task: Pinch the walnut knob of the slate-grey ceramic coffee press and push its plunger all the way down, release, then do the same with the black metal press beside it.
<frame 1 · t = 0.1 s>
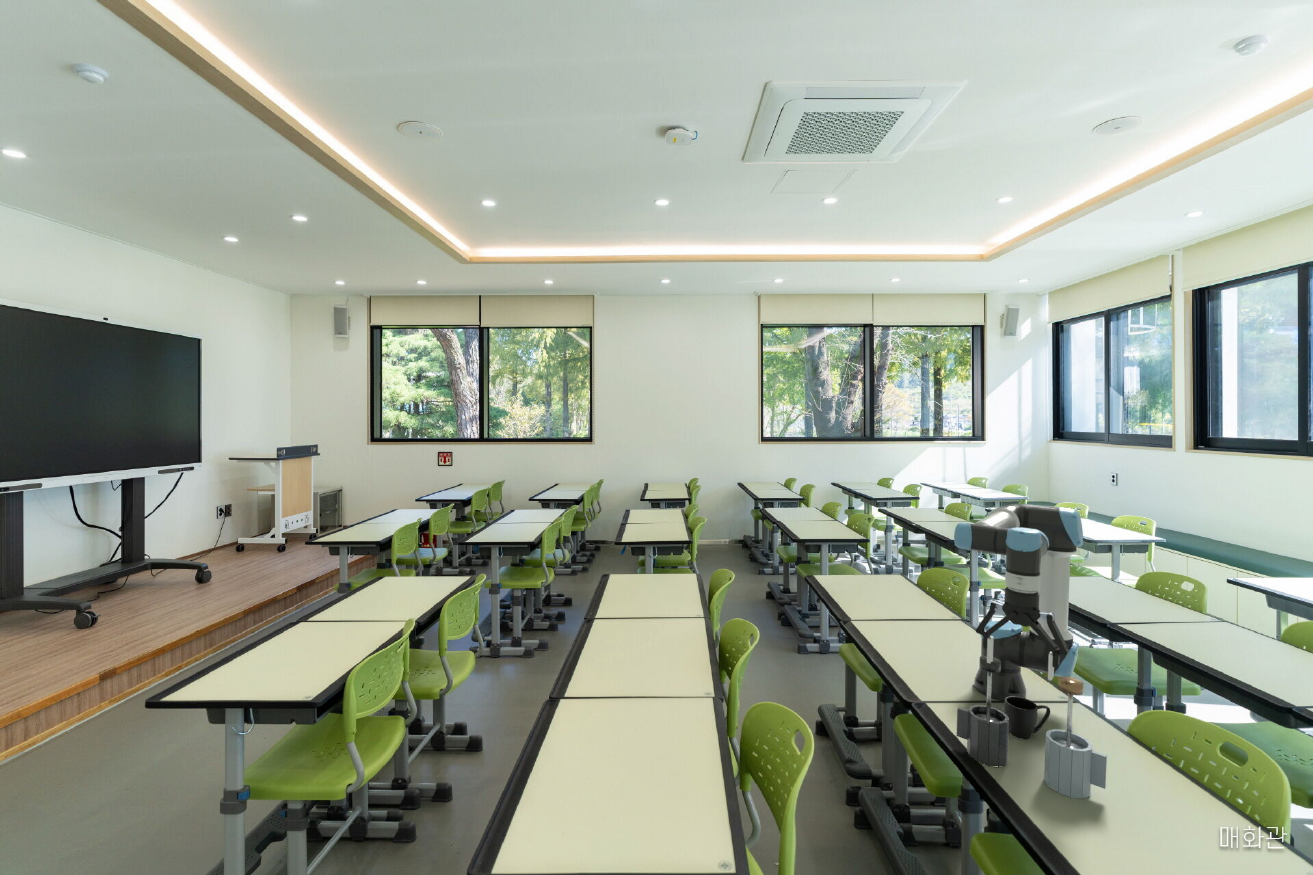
hand: (1019, 669, 147), 28 cm above the table, fingers open, 13 cm apart
mug: (1026, 735, 167), on the table
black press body: (986, 756, 156), on the table
stone press plunger: (1069, 714, 143), point 18 cm above the table, slide at 0.0 cm
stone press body: (1066, 785, 144), on the table
black press plunger: (989, 691, 156), point 18 cm above the table, slide at 0.0 cm
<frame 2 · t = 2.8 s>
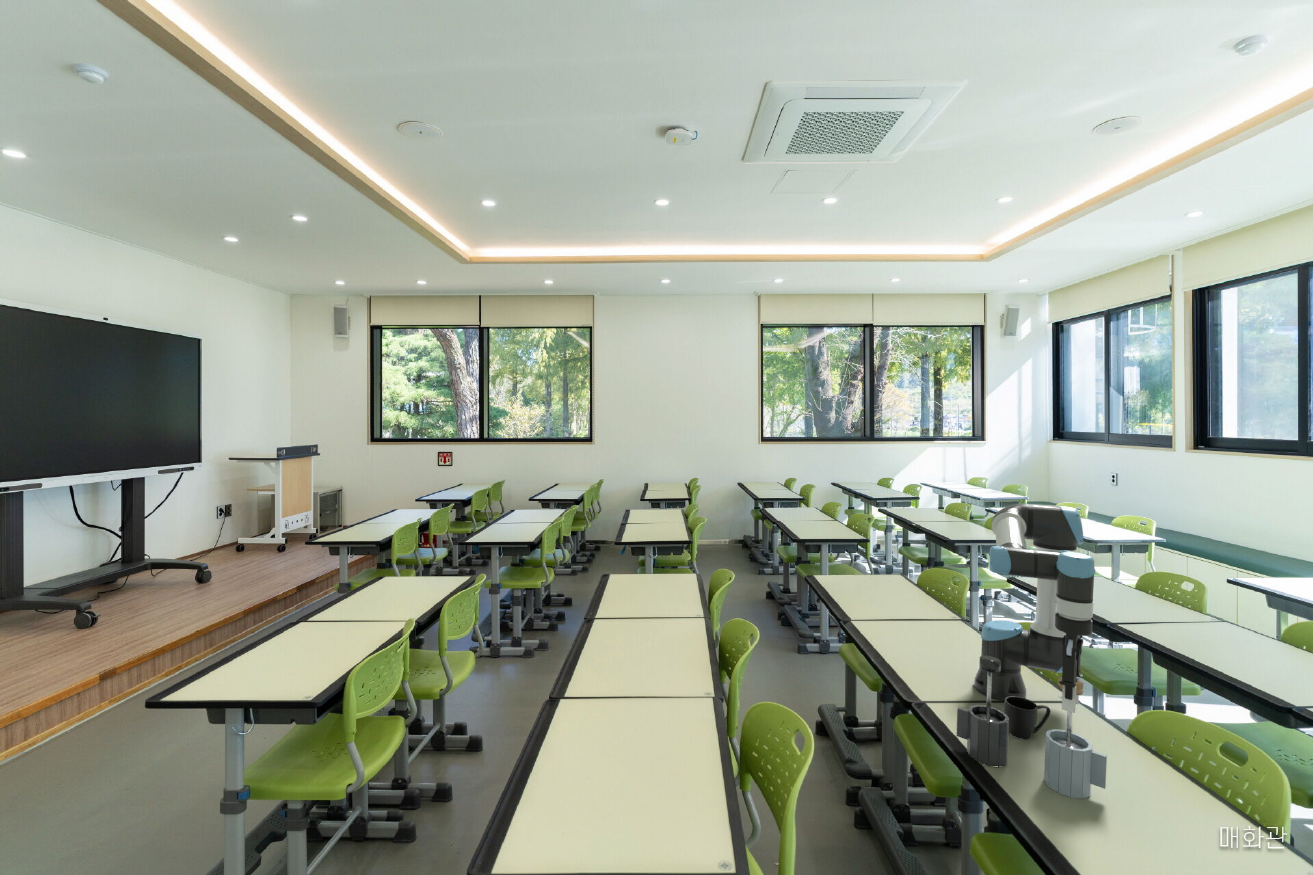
hand: (1070, 705, 143), 21 cm above the table, fingers closed on stone press plunger, 5 cm apart
stone press plunger: (1069, 715, 143), point 18 cm above the table, slide at 0.0 cm, touching gripper
everything else where it was.
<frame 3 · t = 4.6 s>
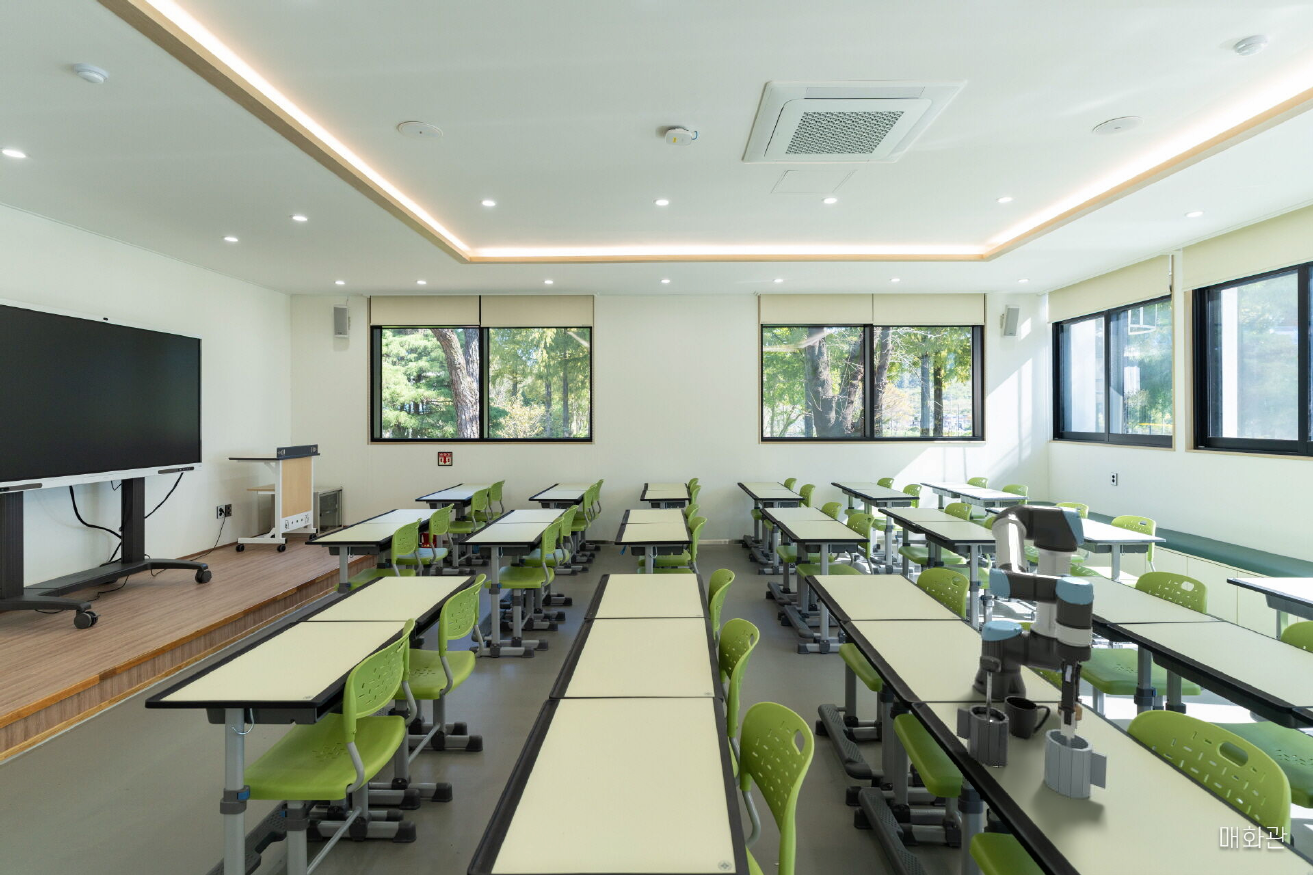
hand: (1069, 730, 144), 14 cm above the table, fingers closed on stone press plunger, 5 cm apart
stone press plunger: (1068, 739, 144), point 12 cm above the table, slide at 6.5 cm, touching gripper
everything else where it was.
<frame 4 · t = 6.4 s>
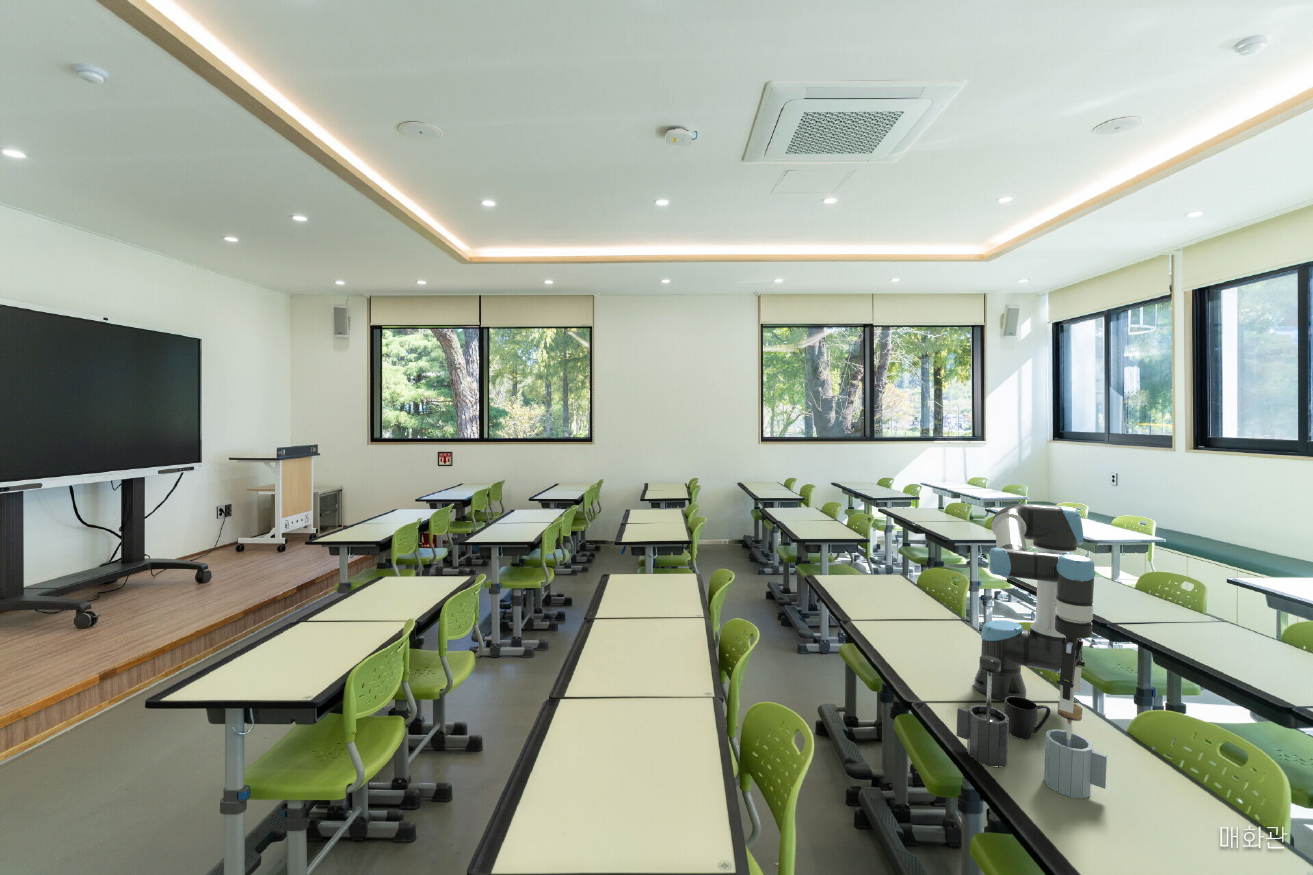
hand: (1070, 700, 144), 22 cm above the table, fingers open, 13 cm apart
stone press plunger: (1068, 740, 144), point 12 cm above the table, slide at 6.5 cm
everything else where it was.
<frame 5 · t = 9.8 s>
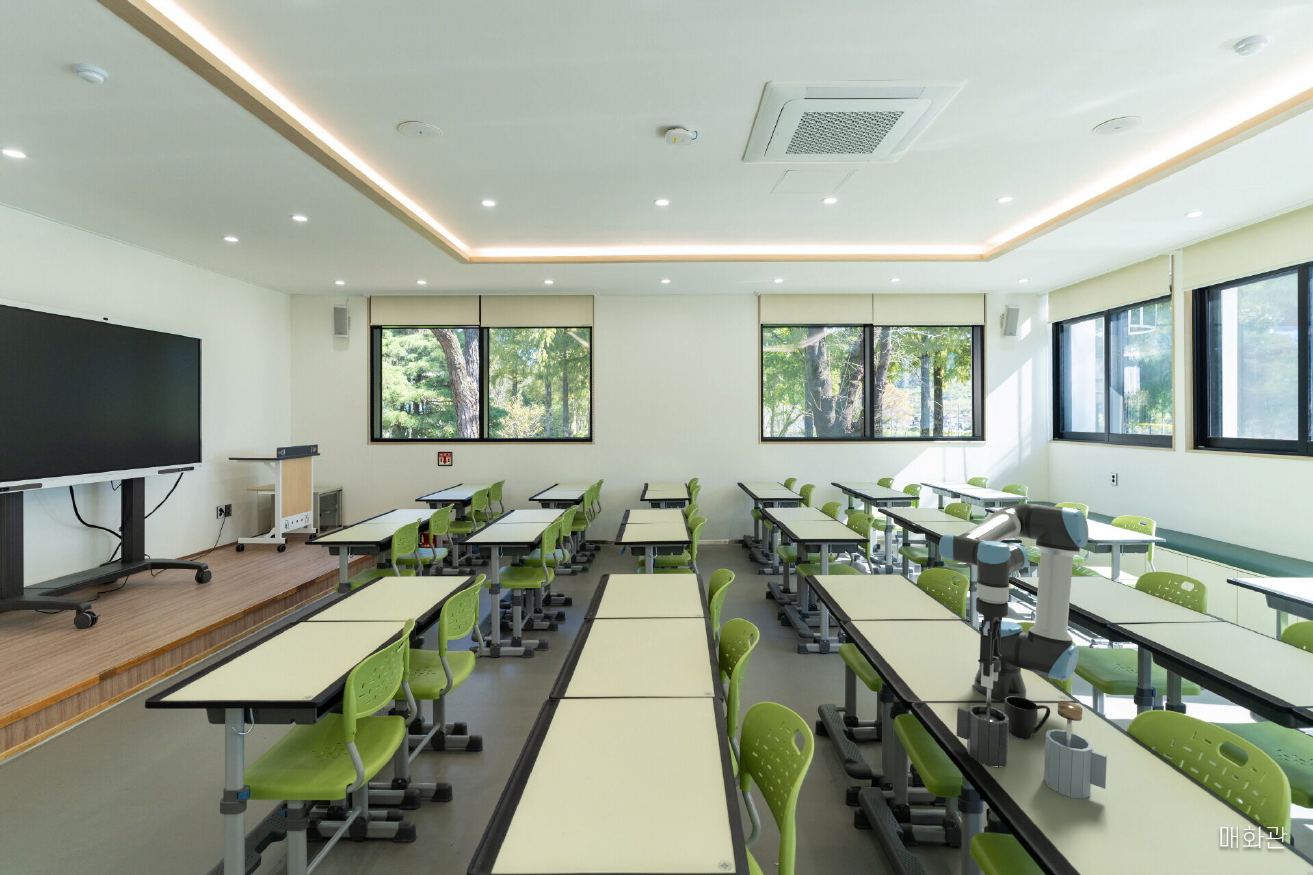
hand: (989, 682, 155), 21 cm above the table, fingers closed on black press plunger, 5 cm apart
black press plunger: (989, 691, 156), point 18 cm above the table, slide at 0.0 cm, touching gripper
everything else where it was.
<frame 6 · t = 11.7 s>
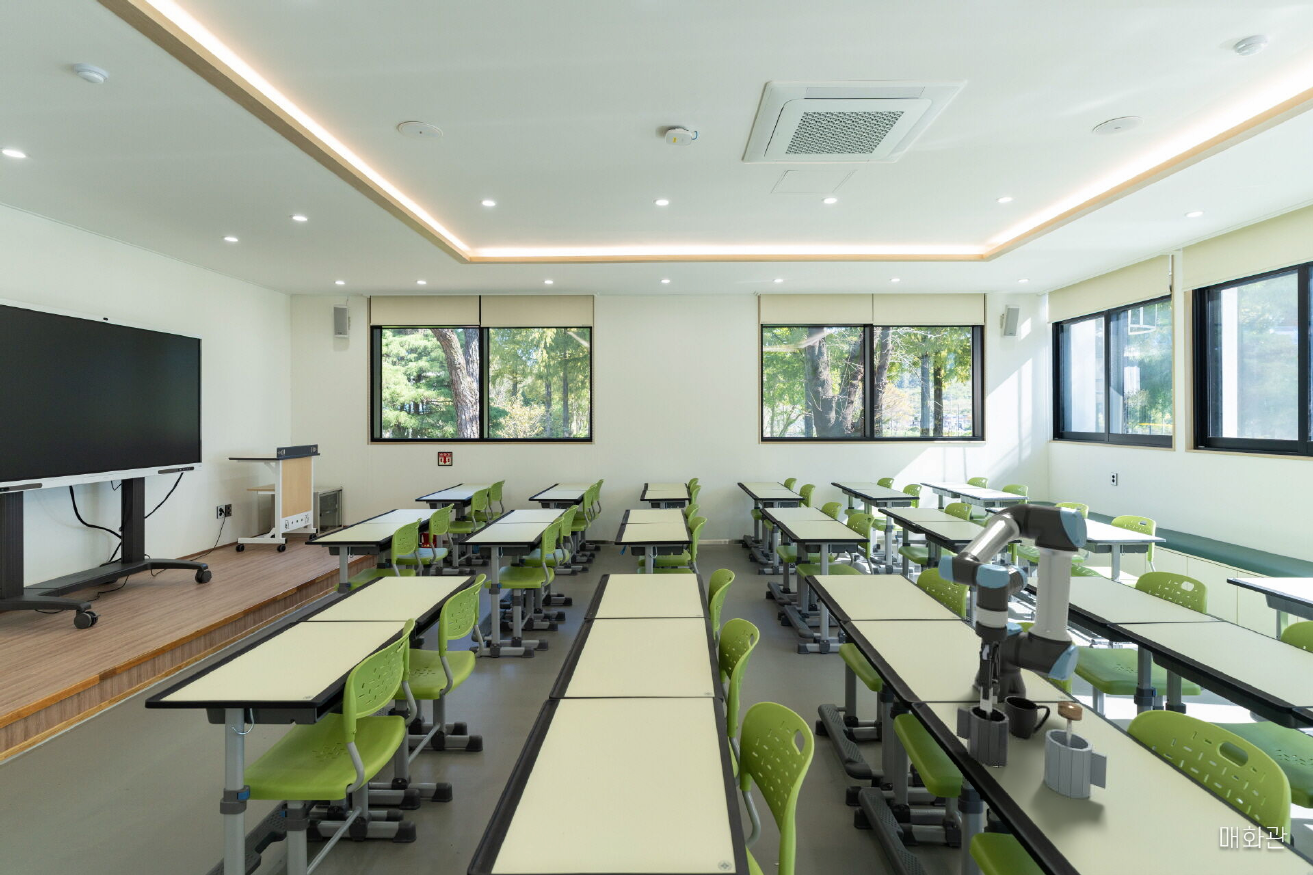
hand: (988, 705, 156), 14 cm above the table, fingers closed on black press plunger, 5 cm apart
black press plunger: (988, 714, 156), point 12 cm above the table, slide at 6.5 cm, touching gripper
everything else where it was.
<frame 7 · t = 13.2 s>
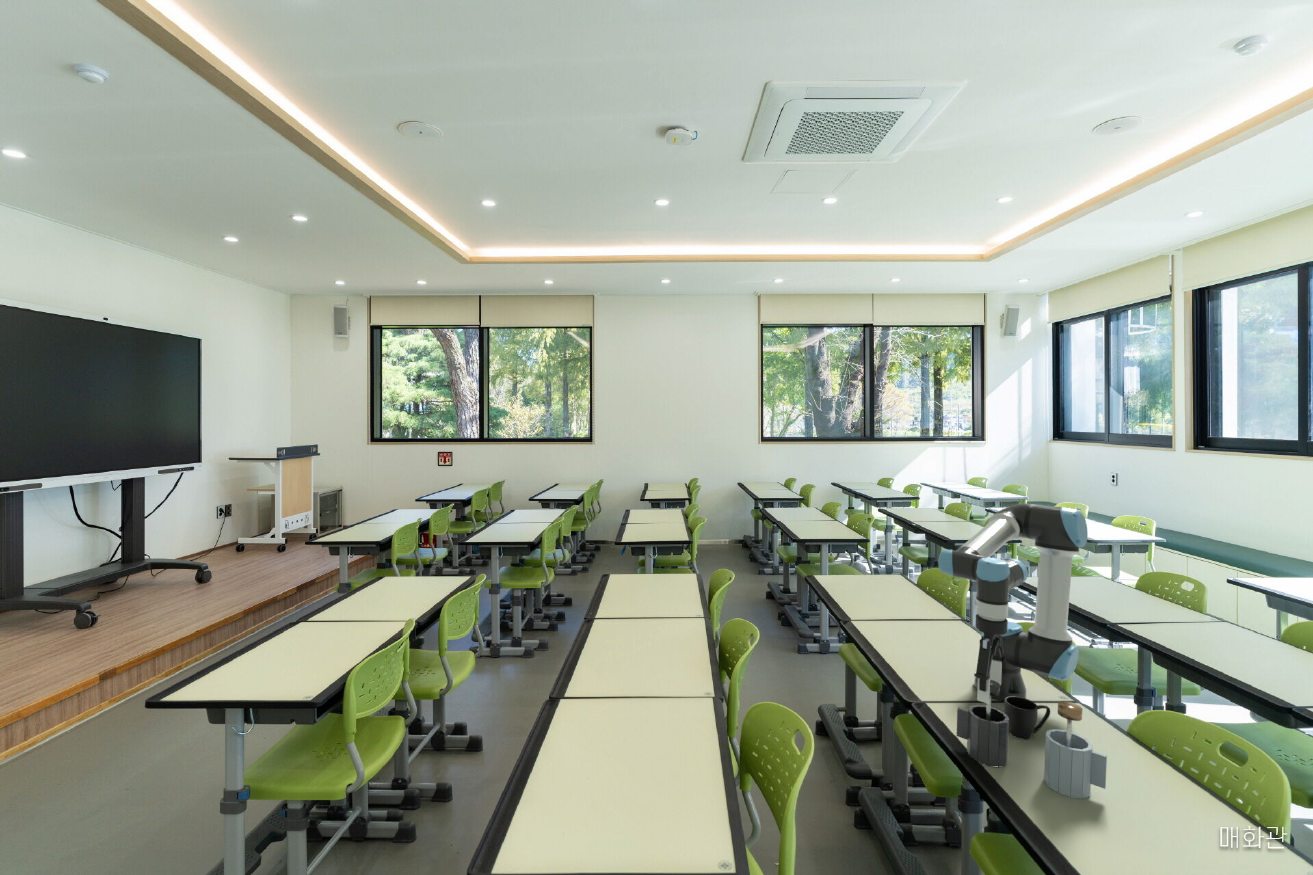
hand: (989, 692, 156), 18 cm above the table, fingers open, 13 cm apart
black press plunger: (988, 714, 156), point 12 cm above the table, slide at 6.5 cm
everything else where it was.
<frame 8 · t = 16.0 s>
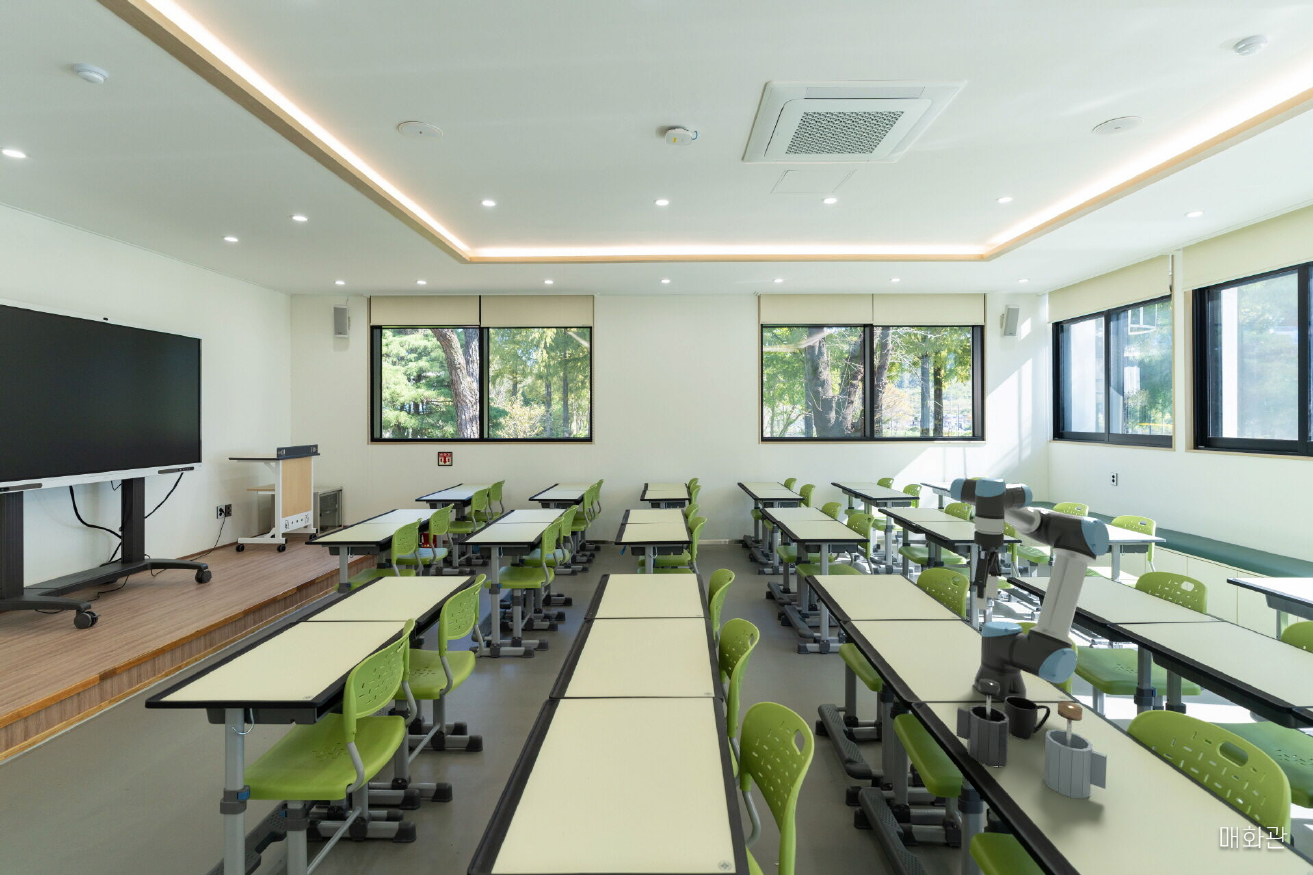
hand: (986, 603, 167), 39 cm above the table, fingers open, 13 cm apart
nothing on the table moved.
at the end: stone press plunger slide at 6.5 cm; black press plunger slide at 6.5 cm; the gripper is holding nothing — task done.
